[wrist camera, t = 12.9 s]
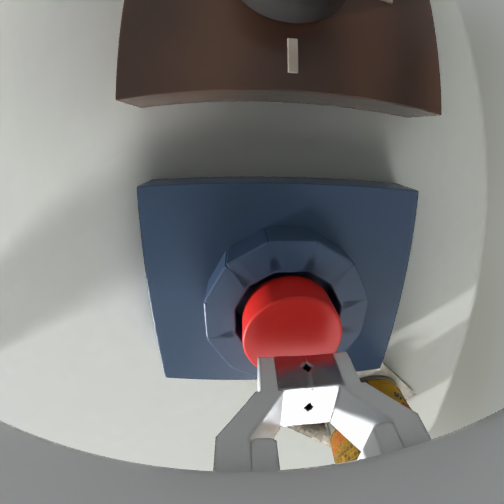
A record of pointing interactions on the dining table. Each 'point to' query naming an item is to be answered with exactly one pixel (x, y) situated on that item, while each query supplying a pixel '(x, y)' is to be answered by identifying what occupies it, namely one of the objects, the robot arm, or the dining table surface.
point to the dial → (295, 9)
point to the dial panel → (280, 56)
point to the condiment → (336, 440)
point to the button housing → (270, 261)
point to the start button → (289, 320)
